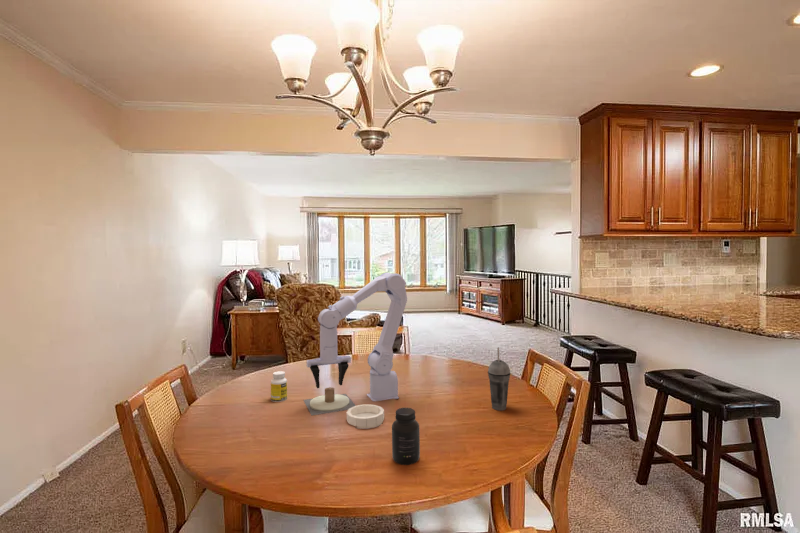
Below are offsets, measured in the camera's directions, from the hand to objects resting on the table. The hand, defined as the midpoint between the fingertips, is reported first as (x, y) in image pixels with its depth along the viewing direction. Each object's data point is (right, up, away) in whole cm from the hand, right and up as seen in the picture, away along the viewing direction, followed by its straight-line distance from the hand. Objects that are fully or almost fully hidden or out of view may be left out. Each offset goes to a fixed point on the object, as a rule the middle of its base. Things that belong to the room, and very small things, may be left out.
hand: (329, 386), depth 137 cm
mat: (0, -7, 0) cm, 7 cm away
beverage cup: (+56, -6, -3) cm, 56 cm away
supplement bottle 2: (+25, -8, -36) cm, 44 cm away
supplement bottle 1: (-18, -7, +5) cm, 20 cm away
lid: (0, -6, 0) cm, 6 cm away
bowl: (+13, -7, -13) cm, 20 cm away
